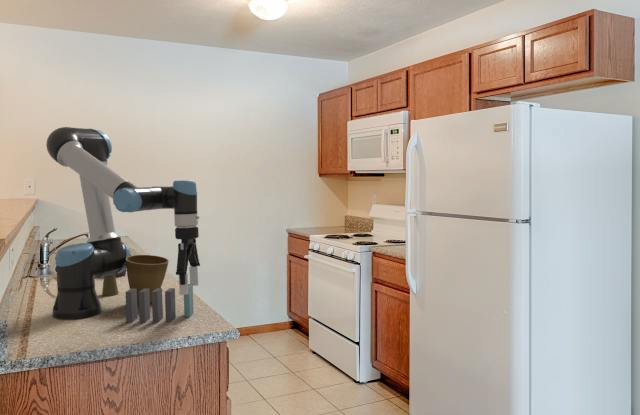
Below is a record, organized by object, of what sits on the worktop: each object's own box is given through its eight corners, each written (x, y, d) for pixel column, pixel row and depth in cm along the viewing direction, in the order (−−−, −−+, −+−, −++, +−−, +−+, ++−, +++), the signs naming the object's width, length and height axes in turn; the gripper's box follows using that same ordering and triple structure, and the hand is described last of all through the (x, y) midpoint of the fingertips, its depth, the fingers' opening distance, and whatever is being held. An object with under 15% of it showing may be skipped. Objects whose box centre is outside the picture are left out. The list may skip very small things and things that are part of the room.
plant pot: (173, 302, 197) (177, 261, 195) (141, 310, 184) (145, 266, 182) (145, 292, 204) (149, 252, 202) (113, 299, 191) (117, 257, 189)
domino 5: (184, 317, 174) (183, 287, 174) (188, 313, 179) (187, 284, 179) (189, 317, 174) (189, 287, 174) (193, 313, 179) (192, 284, 179)
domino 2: (139, 322, 168) (138, 291, 168) (144, 318, 173) (143, 288, 173) (145, 322, 168) (144, 291, 168) (150, 318, 173) (149, 288, 173)
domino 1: (126, 322, 168) (125, 292, 168) (132, 318, 173) (131, 288, 173) (132, 322, 168) (131, 292, 168) (137, 318, 173) (136, 288, 173)
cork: (112, 296, 204) (111, 268, 204) (98, 295, 206) (97, 268, 205) (121, 292, 210) (120, 265, 209) (108, 292, 211) (106, 265, 211)
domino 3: (152, 322, 168) (151, 291, 168) (157, 318, 173) (156, 288, 173) (158, 322, 168) (157, 291, 168) (163, 318, 173) (162, 288, 173)
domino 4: (165, 322, 168) (164, 291, 168) (170, 318, 173) (169, 288, 173) (171, 322, 168) (170, 291, 168) (175, 318, 173) (174, 288, 173)
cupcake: (131, 275, 246) (131, 254, 246) (114, 278, 238) (113, 257, 237) (118, 273, 251) (118, 252, 251) (100, 276, 243) (100, 255, 243)
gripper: (188, 230, 162) (191, 298, 164) (206, 222, 187) (208, 281, 188) (164, 230, 162) (167, 298, 164) (185, 223, 187) (187, 282, 188)
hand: (189, 289), depth 176 cm, fingers open, 13 cm apart
